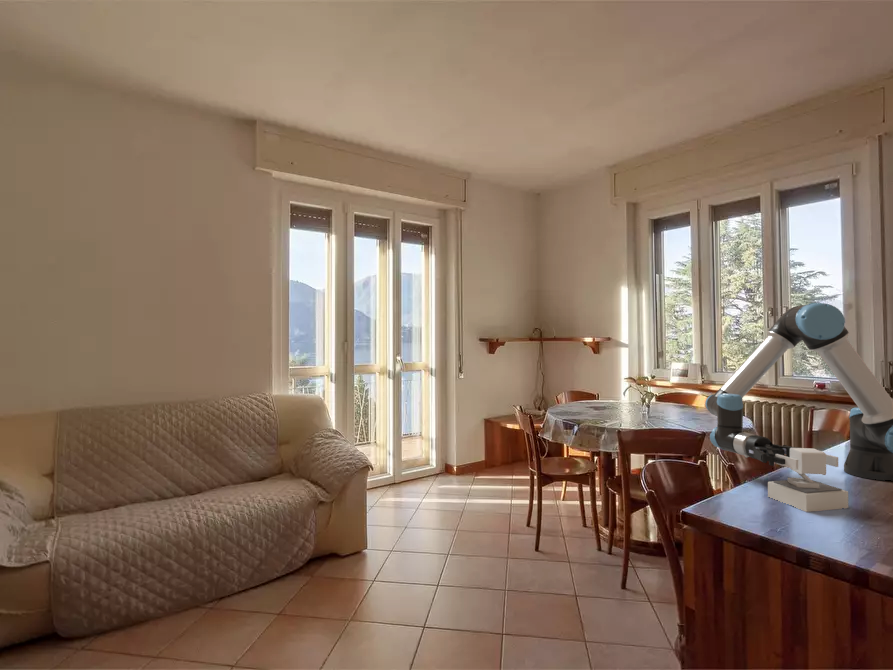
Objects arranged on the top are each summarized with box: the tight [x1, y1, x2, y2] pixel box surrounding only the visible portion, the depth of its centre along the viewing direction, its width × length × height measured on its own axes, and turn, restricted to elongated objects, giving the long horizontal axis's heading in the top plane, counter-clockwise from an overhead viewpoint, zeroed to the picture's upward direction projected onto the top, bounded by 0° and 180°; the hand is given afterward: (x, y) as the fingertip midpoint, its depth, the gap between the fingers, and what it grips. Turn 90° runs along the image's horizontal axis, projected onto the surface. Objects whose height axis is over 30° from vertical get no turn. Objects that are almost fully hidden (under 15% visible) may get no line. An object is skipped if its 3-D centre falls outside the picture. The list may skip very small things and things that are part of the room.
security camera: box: [787, 447, 827, 488], centre depth 135 cm, size 6×7×10 cm
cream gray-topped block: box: [767, 479, 849, 513], centre depth 135 cm, size 14×12×5 cm
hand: (817, 463), depth 132 cm, fingers open, 13 cm apart
